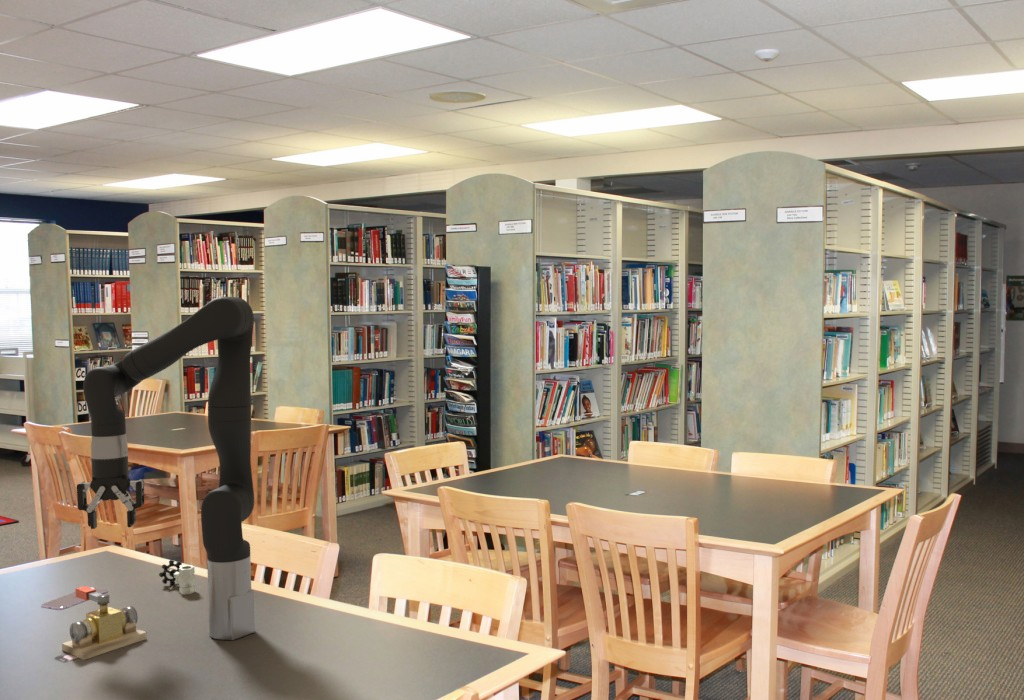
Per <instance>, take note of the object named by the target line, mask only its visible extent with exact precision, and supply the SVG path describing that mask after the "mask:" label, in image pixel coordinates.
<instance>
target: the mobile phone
mask: <svg viewBox="0 0 1024 700" xmlns="http://www.w3.org/2000/svg"><path fill="white" fill-rule="evenodd" d="M89 587H90V588H93V589H96V592H97V593H100V594H107V593H109V590H108V589H105V588H100V587H99V588H97V587H91V586H89ZM84 602H87V601H86V600H83V599H80V598H77V597H76V591H74V592H71V593H69V594H65V595H63V596H59V597H57V598H55V599H53V600H50V601H48V602H44V603H42V604H41V605H40V608H42V609H43V608H44V609H51V610H58V611H61V610H66V609H68V608H70V607H74V606H76V605H78V604H81V603H84Z"/></svg>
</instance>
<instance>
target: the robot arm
mask: <svg viewBox="0 0 1024 700" xmlns="http://www.w3.org/2000/svg"><path fill="white" fill-rule="evenodd" d="M254 319H255V317H254V311H253V309H252V307H251V305H250V304H249V303H248V302H247V301H246V300H245V299H243V298H241V297H237V296H219V297H215V298H213V299H211V300H210V301H209V302H207V303H206V304H205V305H204V306H203V307H201V308H199V309H198V310H197V311H196V312H195V313H194V314H192V315H191V316H189V317H188V318H187V319H185V320H183V321H182V322H181V323H180V324H178V325H176V326H175V327H173V328H171V329H169V330H168V331H166V332H164V333H162V334H160V335H159V336H156V337H155V338H153V339H151V340H149V341H147V342H145V343H143V344H141V345H139V346H137V347H135V348H134V349H132V350H130V351H129V352H127V353H126V354H125V355H124V356H123V358H122V359H121V360H119V361H118V362H115V363H113V364H110V365H105V366H96V367H94V368H91V369H90V370H88V372H87V373H86V374H85V377H84V379H83V384H82V388H83V389H82V390H83V395H84V398H85V402H86V406H87V408H88V409H87V410H88V412H89V414H90V418H91V420H90V424H91V425H90V427H91V428H90V430H91V441H90V458H91V459H90V462H91V463H90V464H91V480H90V482H85V481H82V482H79V483H77V484H76V498H77V509H78V510H79V511H84V512H86V513H87V514H86V515H87V526H88V527H90V530H95V529H96V528H97V527H98V517H97V516H98V515H97V514H98V513H97V510H96V509H97V507H98V505H99V504H100V502H101V501H109V500H110V501H118V500H120V502H121V503H122V504H123V505H124V506H125V508H126V509H127V511H126V520H127V521H126V522H127V523H126V524H127V527H128V528H132V527H133V526H134V524H136V522H137V513H136V512H137V509H140V508H141V507H143V506H144V505H145V481H144V479H139V480H131V479H130V476H129V473H130V472H129V448H128V447H129V446H128V439H127V429H126V428H127V427H126V424H127V423H126V421H127V420H126V414H125V412H124V410H123V409H121V408H119V407H118V405H117V401H116V397H118V396H121V395H123V394H125V393H126V392H128V391H130V390H132V389H133V388H134V387H136V386H138V385H139V384H140V383H141V382H143V381H144V380H148V379H149V378H151V377H153V376H154V375H156V374H158V373H160V372H162V371H164V370H165V369H168V368H170V367H171V366H172V365H174V364H175V363H176V362H178V361H179V360H180V359H181V358H183V357H184V356H185V355H187V354H188V353H190V352H191V351H193V350H195V349H197V348H199V347H201V346H203V345H206V344H208V343H209V344H210V343H211V342H215V341H217V349H218V350H217V351H218V354H217V364H216V368H215V371H214V375H213V378H212V381H211V384H210V387H209V391H208V396H207V424H208V426H207V427H208V431H209V434H210V435H209V436H210V438H211V441H212V443H213V446H214V448H215V451H216V453H217V456H218V461H219V479H218V481H219V483H218V487H217V488H215V489H213V490H211V491H209V492H208V493H207V494H205V496H204V498H203V499H202V503H201V508H200V521H201V534H202V544H203V547H204V549H205V552H206V558H207V562H206V564H207V565H206V566H207V596H208V598H207V599H208V623H209V626H208V627H209V631H208V632H209V636H210V638H213V639H214V640H215V639H216V640H230V641H234V640H237V639H239V638H243V637H245V636H248V635H251V634H254V633H255V632H256V623H255V621H256V620H255V616H256V615H255V614H256V613H255V591H254V590H252V571H251V570H252V565H251V564H252V563H251V562H252V561H251V544H250V542H249V540H246V539H244V536H243V526H242V525H243V524H242V523H243V522H244V521H246V520H247V519H248V518H249V517H250V516H251V514H252V513H253V510H254V507H255V491H254V484H253V483H254V481H253V475H252V465H251V464H252V462H251V461H252V459H251V458H252V457H251V456H252V455H251V454H252V453H251V452H252V450H251V449H252V448H251V447H252V391H251V390H252V388H251V387H252V385H251V384H252V383H251V382H252V381H251V380H252V376H251V375H252V373H251V352H252V343H253V342H252V341H253V333H254V323H255V320H254ZM130 487H132V489H133V491H135V500H133V499H132V496H131V494H130V493H129V491H128V490H129V489H130ZM90 489H91V491H92V492H93V493H94V494H95V495H94V496H93V498H92V499H91V501H90V503H89V504H88V498H87V496H88V495H87V492H89V490H90Z"/></svg>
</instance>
